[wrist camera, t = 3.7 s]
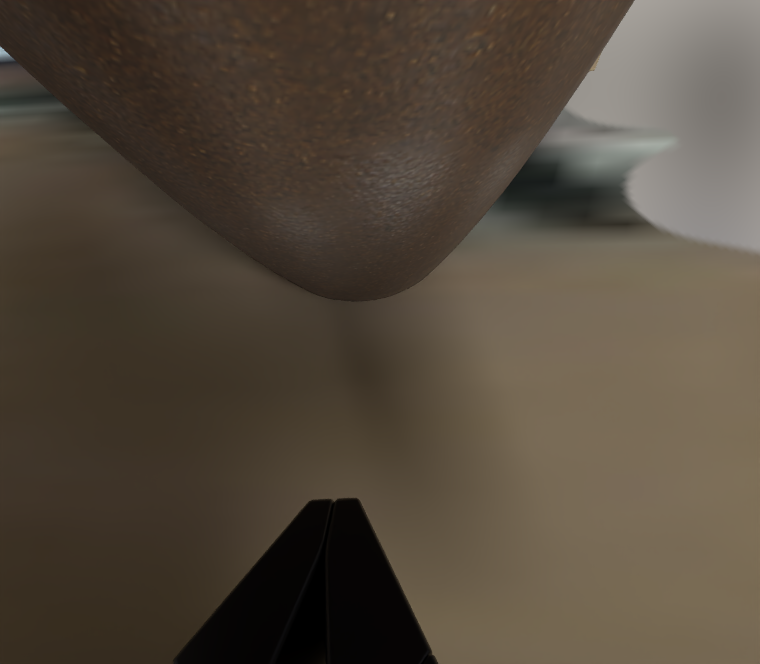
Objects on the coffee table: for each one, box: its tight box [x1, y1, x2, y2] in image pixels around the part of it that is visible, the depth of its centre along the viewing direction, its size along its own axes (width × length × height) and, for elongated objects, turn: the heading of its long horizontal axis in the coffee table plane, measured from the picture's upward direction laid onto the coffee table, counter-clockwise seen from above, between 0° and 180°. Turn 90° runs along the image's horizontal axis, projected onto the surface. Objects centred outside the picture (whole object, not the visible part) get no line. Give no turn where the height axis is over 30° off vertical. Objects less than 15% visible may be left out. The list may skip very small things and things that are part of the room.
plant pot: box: [0, 0, 634, 301], centre depth 12 cm, size 15×15×16 cm
